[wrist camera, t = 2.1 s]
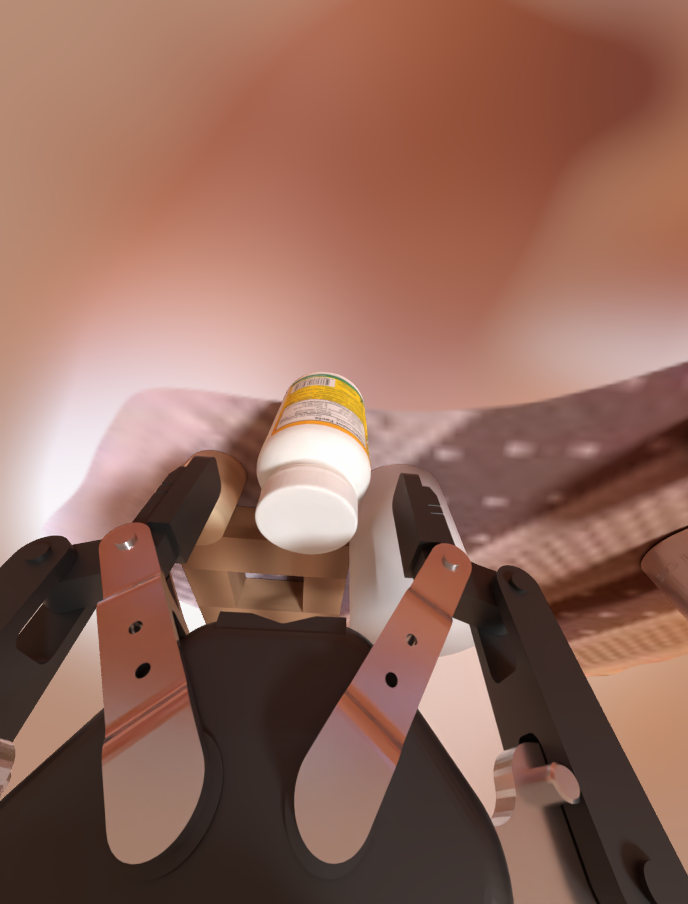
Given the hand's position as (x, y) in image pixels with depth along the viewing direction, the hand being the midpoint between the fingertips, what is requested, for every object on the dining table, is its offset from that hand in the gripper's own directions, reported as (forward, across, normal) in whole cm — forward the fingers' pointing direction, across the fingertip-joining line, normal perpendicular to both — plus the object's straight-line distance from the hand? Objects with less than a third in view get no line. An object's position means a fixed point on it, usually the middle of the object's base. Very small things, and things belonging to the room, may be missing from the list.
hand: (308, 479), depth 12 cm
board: (+7, +4, +18) cm, 20 cm away
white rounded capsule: (+7, -7, +8) cm, 13 cm away
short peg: (+7, +8, +7) cm, 13 cm away
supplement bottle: (+8, 0, 0) cm, 8 cm away
